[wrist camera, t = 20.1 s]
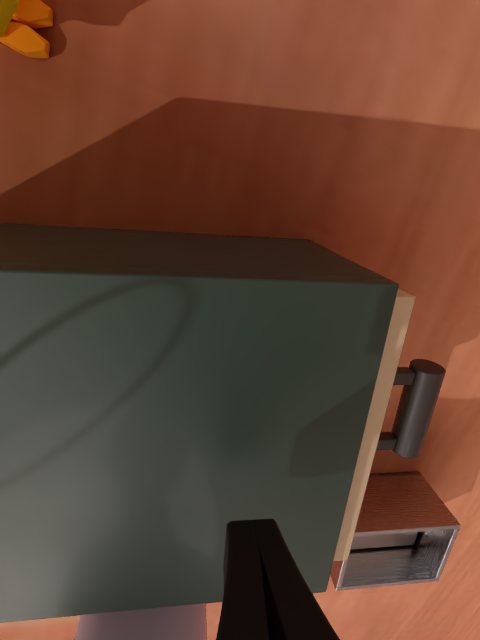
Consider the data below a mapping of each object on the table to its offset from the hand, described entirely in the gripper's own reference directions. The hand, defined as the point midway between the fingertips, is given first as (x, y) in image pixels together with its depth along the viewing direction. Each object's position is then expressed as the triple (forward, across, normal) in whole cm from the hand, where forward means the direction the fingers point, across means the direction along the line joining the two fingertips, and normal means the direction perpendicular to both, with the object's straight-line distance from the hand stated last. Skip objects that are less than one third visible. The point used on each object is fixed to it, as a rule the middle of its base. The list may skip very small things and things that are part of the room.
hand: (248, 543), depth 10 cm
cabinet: (+10, +4, 0) cm, 11 cm away
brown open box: (+10, -11, +11) cm, 19 cm away
